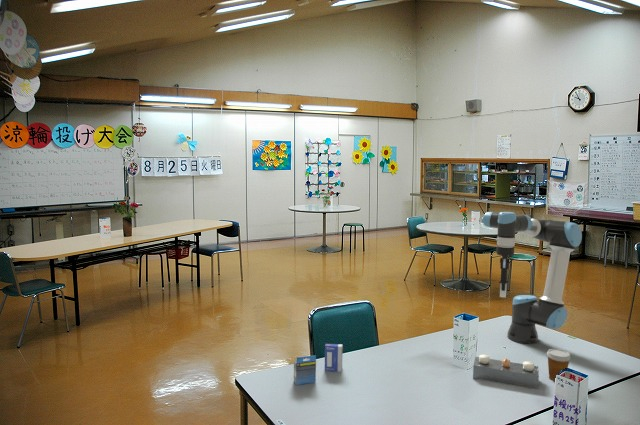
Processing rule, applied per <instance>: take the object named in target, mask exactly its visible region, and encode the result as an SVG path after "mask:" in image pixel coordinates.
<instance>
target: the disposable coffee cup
mask: <svg viewBox="0 0 640 425" xmlns="http://www.w3.org/2000/svg"><path fill="white" fill-rule="evenodd" d="M546 356H547V365H548V378H549V380H551V381H553V382H555V378H556V375H557V374H558V373H559V372H560V371H561V370H563V369H565V368H569V363H570V361H571V358H572V357H571V354H570V352H568V351H566V350H563V349H560V348H559V349H558V348H550V349H548V350H547V352H546Z"/></svg>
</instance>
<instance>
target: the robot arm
mask: <svg viewBox="0 0 640 425" xmlns="http://www.w3.org/2000/svg"><path fill="white" fill-rule="evenodd" d="M482 223H483V225H484V226H485V227H488V228H491V229H492V228H493V229H497V235H496V236H497V237H496V238H495V241H496V245H497V246H496V250H495V251H496V252H495V253H496V255H497V256H502V257H500V259H499V263H500V264H499V266H500V281H498V284H500V285H499V298H504V299H505V298H507V283H509V280H508V269H509V264H510V258H509V257H511V256H512V257H513V256H514V255H515V245H516V244H515V243H516V233H519V234H524V235H526V236H527V237H529V238H532V239H537V240H538V241H542V242H545V243H549V245H548V247H549V248H550V249H551V252H550V257H549V261H548V262H549V264H548V268H547V274H546V278H545V284H544V290H543V295H542V296H540V297H539V299H538V297H537V296H536V295H532V294H520V295H519V294H518V295H515V296H514V297H513V298H512V307H511V309H512V310H511V324H510V326H509V328H508V331H507V338H508V339H509V340H511V341H513V342H516V343H520V344H535V343H536V344H537V342H539V341H538V340H539V335H538V331H537V327H536V325H539V326H542V327H546V328H548V329H554V330H559V329H561V328H562V327H563V325H565V323H566V321H567V319H568V310H567V308H566V307H565V302H564V300H563V293H564V290H565V283H566V279H567V272H568V267H569V262H570V255H571V253H572V252H573V251H575V249H576V247H579V246H580V245H581V243H582V238H583V233H582V229H581V227H580V226H579V224H578V223H575V222H572V221H571V222H570V221H563V220H553V219H536V218H532V217H531V216H529V215H527V214H517V213H516V212H512V211H501V212H498V211H487V212H485V214H483V217H482Z"/></svg>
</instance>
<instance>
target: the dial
mask: <svg viewBox="0 0 640 425" xmlns="http://www.w3.org/2000/svg"><path fill="white" fill-rule="evenodd" d="M501 361H502V366H503V367H510V362H511V360H509V359H508V358H503V359H501Z"/></svg>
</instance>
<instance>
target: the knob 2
mask: <svg viewBox="0 0 640 425" xmlns="http://www.w3.org/2000/svg"><path fill="white" fill-rule="evenodd" d="M522 364H523V369H524V370H525V371H533V370H534V366H535V363H534V362H532V361H528V360H526V361H522Z"/></svg>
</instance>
